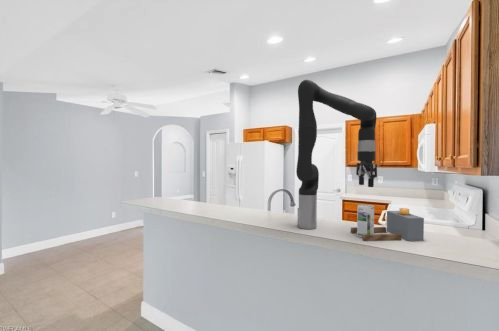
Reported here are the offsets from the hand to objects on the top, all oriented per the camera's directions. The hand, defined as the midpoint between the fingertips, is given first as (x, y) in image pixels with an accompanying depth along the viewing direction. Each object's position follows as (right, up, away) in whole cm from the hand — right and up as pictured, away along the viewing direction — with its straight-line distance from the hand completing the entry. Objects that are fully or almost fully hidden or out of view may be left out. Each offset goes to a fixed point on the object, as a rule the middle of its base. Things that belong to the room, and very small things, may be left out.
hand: (365, 185), depth 122 cm
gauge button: (+18, -15, +2) cm, 24 cm away
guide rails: (+4, -23, +1) cm, 24 cm away
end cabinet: (+18, -23, +2) cm, 30 cm away
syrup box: (0, -24, +1) cm, 24 cm away
